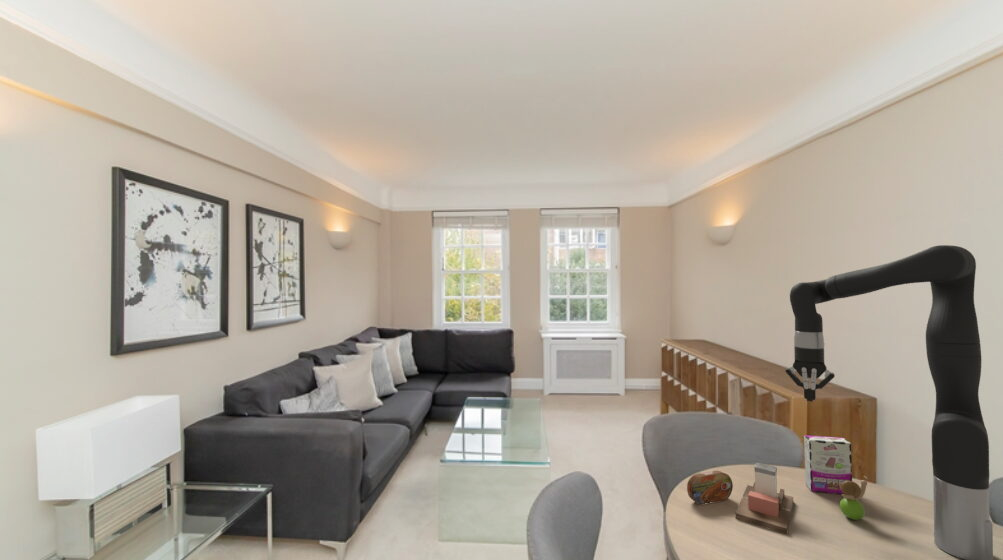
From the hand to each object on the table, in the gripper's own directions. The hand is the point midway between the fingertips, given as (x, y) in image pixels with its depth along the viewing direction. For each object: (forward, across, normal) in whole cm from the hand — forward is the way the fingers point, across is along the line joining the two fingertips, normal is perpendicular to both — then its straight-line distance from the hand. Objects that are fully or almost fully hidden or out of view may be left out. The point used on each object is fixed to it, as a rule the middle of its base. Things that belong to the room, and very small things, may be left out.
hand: (810, 400), depth 130 cm
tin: (+29, -24, -24) cm, 45 cm away
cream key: (+27, -10, -18) cm, 34 cm away
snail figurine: (+29, +10, -10) cm, 32 cm away
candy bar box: (+29, +4, +5) cm, 30 cm away
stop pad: (+27, -10, -24) cm, 38 cm away
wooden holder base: (+29, -10, -20) cm, 37 cm away
